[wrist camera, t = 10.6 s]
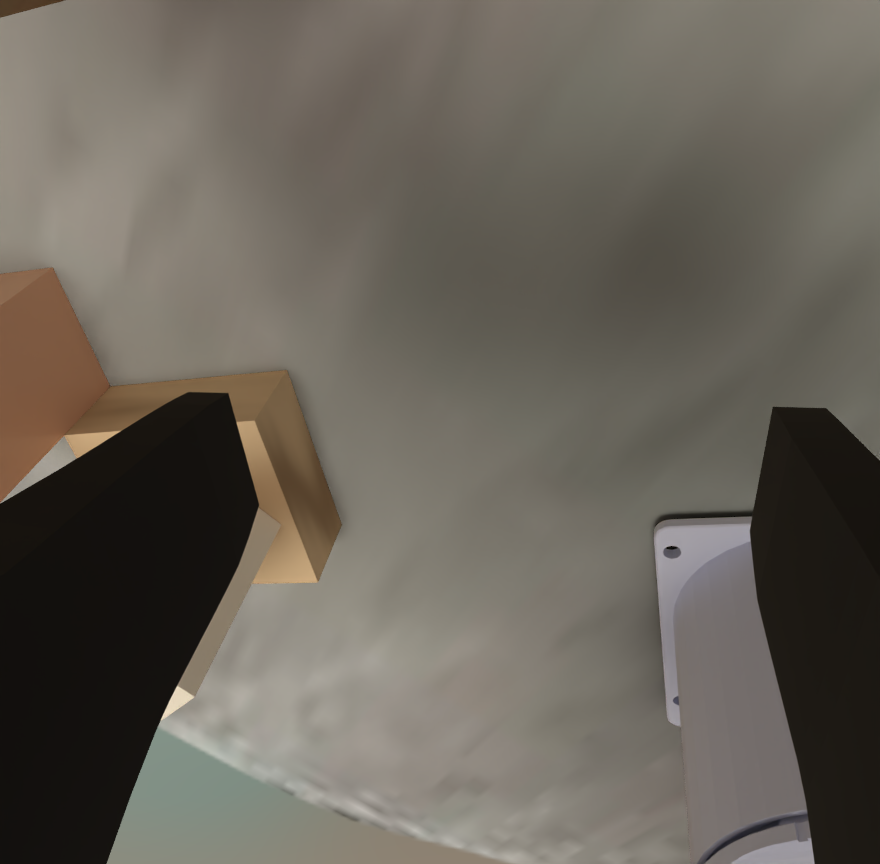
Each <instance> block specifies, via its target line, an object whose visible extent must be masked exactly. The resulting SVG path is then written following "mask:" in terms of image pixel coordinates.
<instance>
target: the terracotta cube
mask: <svg viewBox="0 0 880 864" xmlns="http://www.w3.org/2000/svg"><path fill="white" fill-rule="evenodd" d="M109 387H110V385H109V383H108V381H107V379H106V377H105V375H104V373H103V371H102V368H101V366H100V364H99V362H98V360H97V358H96V356H95V354H94V352H93V350H92V348H91V346H90V344H89V342H88V340H87V338H86V335H85V333H84V331H83V329H82V327H81V325H80V323H79V321H78V319H77V317H76V315H75V313H74V311H73V309H72V307H71V304H70V302H69V300H68V298H67V296H66V294H65V292H64V290H63V288H62V286H61V284H60V282H59V280H58V278H57V276H56V274H55V271H54V269H53V267H52V268H44V269H36V270H28V271H20V272H12V273H4V274H0V502H1V501H2V500H3V499H4V498H5V497H6V496H7V495H8V494H9V493H10V492H11V491H12V490H13V489H14V487H15V486H16V485H17V484H18V483H19V482H20V481H21V480H22V479H23V478H24V477H25V476H26V475H27V474H28V473H29V472H30V471H31V470H32V469H33V467H34V466H35V465H36V464H37V463H38V462H39V461H40V460H41V459H42V458H43V457H44V456H45V455H46V454H47V453H48V452H49V451H50V450H51V449H52V447H53V446H54V445H55V444H56V443H57V442H58V441H59V440H60V439H61V438H62V437H63V436H64V435H65V434H66V433H67V432H68V431H69V430H70V428H71V427H72V426H73V425H74V424H75V423H76V422H77V421H78V420H79V419H80V418H81V417H82V416H83V415H84V414H85V413H86V412H87V411H88V410H89V408H90V407H91V406H92V405H93V404H94V403H95V402H96V401H97V400H98V399H99V398H100V397H101V396H102V395H103V394H104V393H105V392H106V391H107V390H108V388H109Z"/></svg>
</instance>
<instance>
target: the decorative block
mask: <svg viewBox="0 0 880 864" xmlns="http://www.w3.org/2000/svg"><path fill="white" fill-rule="evenodd" d="M61 1H64V0H0V17H4V16H8V15H12V14H15V13H19V12H23V11H27V10H30V9H34V8H38V7H42V6H45V5H49V4H53V3H57V2H61Z"/></svg>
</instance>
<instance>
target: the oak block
mask: <svg viewBox="0 0 880 864" xmlns="http://www.w3.org/2000/svg"><path fill="white" fill-rule="evenodd" d="M187 392H211V393H228V394H229V397H230V401H231V404H232V408H233V412H234V415H235V419H236V422H237V426H238V430H239V433H240V437H241V440H242V444H243V448H244V451H245V455H246V458H247V462H248V466H249V469H250V473H251V476H252V480H253V484H254V487H255V491H256V494H257V498H258V502H259V508H260V509H261V510H263V511H264V512H265V513H266V514H268V515H269V516H270V517H272V518H273V519H274V520H276V521H277V522H278V523H280V524H281V526H280V528H279V530H278V532H277V534H276V536H275V538H274V540H273V542H272V544H271V546H270V548H269V550H268V552H267V554H266V556H265V558H264V560H263V562H262V564H261V566H260V568H259V570H258V572H257V574H256V576H255V578H254V580H253V582H252V584H264V583H315V582H318V581H319V579H320V576H321V574H322V571H323V569H324V567H325V564H326V562H327V559H328V557H329V554H330V552H331V550H332V547H333V545H334V542H335V540H336V537H337V535H338V533H339V530H340V528H341V525H342V524H341V521H340V518H339V516H338V513H337V510H336V507H335V504H334V502H333V499H332V496H331V493H330V490H329V487H328V485H327V482H326V479H325V476H324V473H323V470H322V468H321V465H320V462H319V459H318V456H317V454H316V451H315V448H314V445H313V442H312V439H311V437H310V434H309V431H308V428H307V425H306V422H305V420H304V417H303V414H302V411H301V408H300V405H299V403H298V400H297V397H296V394H295V391H294V389H293V386H292V383H291V380H290V377H289V374H288V372H287V370H282V371H271V372H261V373H250V374H239V375H228V376H218V377H207V378H196V379H185V380H175V381H164V382H153V383H142V384H132V385H121V386H111V387H110V388H109V389H108V390H107V391H106V392H105V393H104V394H103V395H102V396H101V397H100V398H99V399H98V400H97V401H96V402H95V403H94V405H93V406H92V407H91V408H90V409H89V410H88V411H87V412H86V413H85V414H84V415H83V416H82V417H81V418H80V419H79V420H78V421H77V422H76V423H75V424H74V425H73V426H72V428H71V429H70V430H69V431H68V432H67V433H66V434H65V435H64V436H65V438H66V440H67V441H68V443H69V445H70V447H71V449H72V450H73V452H74V454H75V456H76V458H79V457H80V456H82V455H83V454H85V453H87V452H88V451H90V450H91V449H93V448H95V447H96V446H98V445H99V444H101V443H103V442H104V441H106V440H107V439H109V438H111V437H112V436H114V435H115V434H117V433H119V432H120V431H122V430H123V429H125V428H127V427H128V426H130V425H131V424H133V423H135V422H136V421H138V420H139V419H141V418H143V417H144V416H146V415H148V414H149V413H151V412H152V411H154V410H156V409H158V408H159V407H161V406H163V405H164V404H166V403H168V402H170V401H172V400H173V399H175V398H177V397H179V396H181V395H183V394H185V393H187Z"/></svg>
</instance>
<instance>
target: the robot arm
mask: <svg viewBox="0 0 880 864" xmlns="http://www.w3.org/2000/svg"><path fill="white" fill-rule="evenodd" d="M258 507H259V502H258V498H257V494H256V491H255V487H254V484H253V480H252V476H251V473H250V469H249V466H248V462H247V458H246V455H245V451H244V448H243V444H242V440H241V437H240V433H239V430H238V426H237V422H236V419H235V415H234V412H233V408H232V404H231V401H230V397H229V394H228V393H211V392H187V393H185V394H183V395H181V396H179V397H177V398H175V399H173V400H172V401H170V402H168V403H166V404H164V405H163V406H161V407H159V408H158V409H156V410H154V411H152V412H151V413H149V414H148V415H146V416H144V417H143V418H141V419H139V420H138V421H136V422H135V423H133V424H131V425H130V426H128V427H127V428H125V429H123V430H122V431H120V432H119V433H117V434H115V435H114V436H112V437H111V438H109V439H107V440H106V441H104V442H103V443H101V444H99V445H98V446H96V447H95V448H93V449H91V450H90V451H88V452H87V453H85V454H83V455H82V456H80V457H79V458H77V459H75V460H74V461H72V462H71V463H69V464H67V465H66V466H64V467H63V468H61V469H59V470H58V471H56V472H54V473H52V474H51V475H49V476H47V477H46V478H44V479H42V480H40V481H39V482H37V483H35V484H34V485H32V486H30V487H28V488H27V489H25V490H23V491H21V492H20V493H18V494H16V495H15V496H13V497H11V498H9V499H8V500H6V501H4V502H2V503H1V504H0V864H106V863H107V861H108V858H109V855H110V852H111V849H112V847H113V844H114V841H115V838H116V835H117V832H118V829H119V827H120V824H121V821H122V818H123V816H124V813H125V810H126V807H127V804H128V802H129V798H130V796H131V793H132V791H133V788H134V786H135V783H136V781H137V778H138V775H139V773H140V770H141V768H142V765H143V763H144V760H145V757H146V755H147V752H148V750H149V747H150V745H151V742H152V739H153V737H154V734H155V732H156V729H157V727H158V725H159V723H160V721H161V718H162V716H163V714H164V712H165V710H166V708H167V705H168V703H169V701H170V699H171V697H172V695H173V693H174V691H175V689H176V687H177V685H178V683H179V681H180V680H181V678H182V676H183V674H184V672H185V670H186V668H187V666H188V664H189V662H190V660H191V658H192V656H193V654H194V653H195V651H196V649H197V647H198V645H199V643H200V641H201V639H202V637H203V635H204V633H205V631H206V629H207V627H208V626H209V624H210V622H211V620H212V618H213V616H214V614H215V612H216V610H217V608H218V606H219V604H220V602H221V600H222V598H223V596H224V594H225V592H226V590H227V588H228V586H229V584H230V582H231V580H232V578H233V576H234V574H235V572H236V570H237V568H238V566H239V563H240V561H241V558H242V555H243V552H244V550H245V547H246V544H247V541H248V539H249V536H250V532H251V529H252V526H253V523H254V520H255V517H256V514H257V511H258ZM668 546H677V547H678V548H677V549H673V550H670V549H666V547H668ZM654 547H655V560H656V573H657V587H658V600H659V614H660V627H661V641H662V654H663V667H664V681H665V694H666V708H667V718H668V720H669V721H670V722H671V723H672V724H674V725H676V726H681V737H682V751H683V765H684V778H685V792H686V806H687V819H688V833H689V847H690V860H691V864H880V461H879V460H878V459H877V458H876V457H875V456H874V455H873V454H872V453H871V452H870V451H869V450H868V449H867V448H866V447H865V446H864V445H863V444H862V443H861V442H860V441H859V440H858V439H857V438H856V437H855V436H854V435H853V434H852V433H851V432H850V431H849V430H848V429H847V428H846V427H845V426H844V425H843V424H842V423H841V422H840V421H839V420H838V419H837V418H836V417H835V416H834V415H833V414H832V413H831V412H829V411H828V410H827V409H826V408H794V407H773V409H772V415H771V420H770V425H769V431H768V436H767V441H766V447H765V452H764V457H763V462H762V468H761V473H760V478H759V484H758V489H757V494H756V500H755V505H754V510H753V516H752V517H724V518H695V519H669V520H664V521H662V522H660V523H658V524H657V525H656V527H655V528H654Z"/></svg>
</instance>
